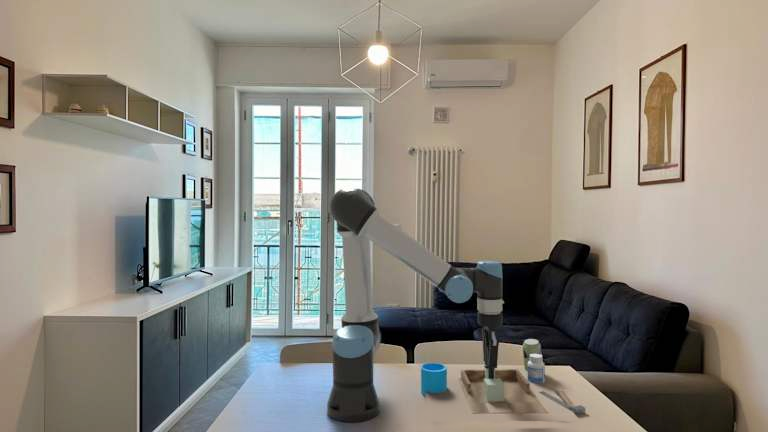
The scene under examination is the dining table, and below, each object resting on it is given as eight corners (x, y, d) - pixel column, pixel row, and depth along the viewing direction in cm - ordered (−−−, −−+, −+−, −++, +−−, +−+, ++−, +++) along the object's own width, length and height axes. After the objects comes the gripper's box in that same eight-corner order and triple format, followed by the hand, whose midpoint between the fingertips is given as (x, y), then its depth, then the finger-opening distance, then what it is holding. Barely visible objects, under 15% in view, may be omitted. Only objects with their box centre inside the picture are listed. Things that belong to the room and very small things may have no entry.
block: (487, 401, 138) (487, 384, 138) (483, 394, 143) (483, 378, 143) (504, 401, 138) (504, 384, 138) (500, 394, 143) (500, 378, 143)
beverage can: (544, 372, 167) (544, 338, 166) (538, 378, 160) (539, 343, 160) (526, 369, 170) (526, 336, 170) (520, 375, 164) (520, 341, 164)
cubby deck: (472, 418, 131) (472, 402, 131) (457, 382, 157) (457, 369, 157) (548, 418, 131) (548, 402, 131) (520, 382, 157) (520, 369, 157)
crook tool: (571, 416, 132) (571, 410, 132) (538, 397, 145) (538, 391, 145) (585, 414, 134) (585, 407, 134) (552, 395, 147) (552, 389, 147)
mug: (446, 398, 145) (446, 372, 144) (419, 396, 146) (419, 370, 146) (447, 384, 156) (447, 359, 156) (423, 382, 158) (423, 358, 158)
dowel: (570, 412, 135) (570, 407, 135) (557, 396, 147) (558, 390, 147) (575, 413, 135) (575, 407, 135) (563, 396, 147) (563, 391, 147)
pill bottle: (532, 380, 159) (532, 351, 159) (547, 384, 155) (547, 355, 155) (524, 384, 155) (524, 355, 155) (539, 389, 151) (539, 359, 151)
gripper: (507, 316, 138) (508, 396, 139) (496, 306, 151) (497, 379, 152) (482, 316, 138) (482, 396, 139) (473, 307, 151) (473, 380, 151)
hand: (490, 387), depth 145 cm, fingers closed
